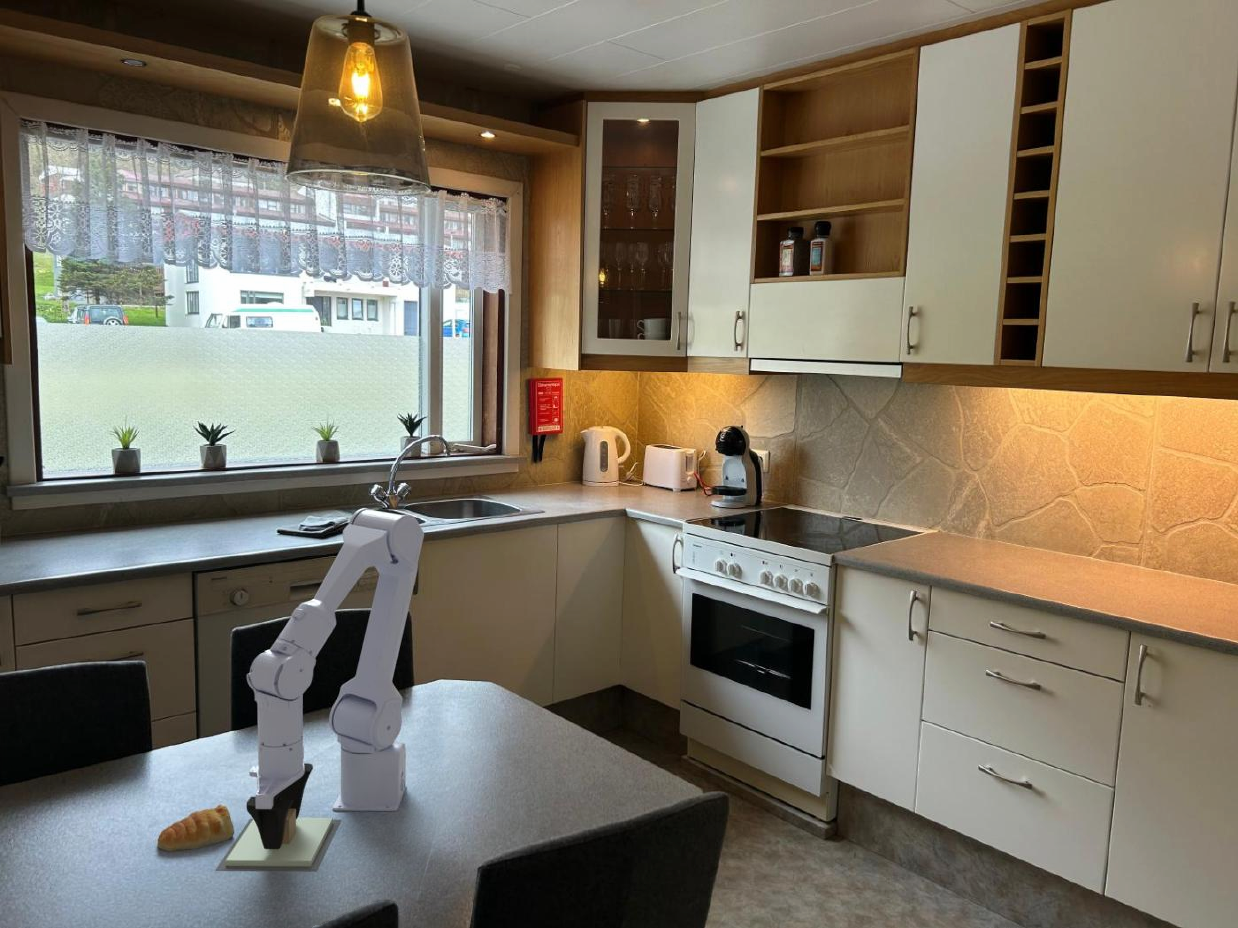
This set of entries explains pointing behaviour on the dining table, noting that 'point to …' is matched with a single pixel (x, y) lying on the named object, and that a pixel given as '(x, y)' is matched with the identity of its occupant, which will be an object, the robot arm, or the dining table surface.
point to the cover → (296, 846)
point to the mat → (314, 866)
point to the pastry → (198, 830)
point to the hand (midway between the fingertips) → (281, 832)
